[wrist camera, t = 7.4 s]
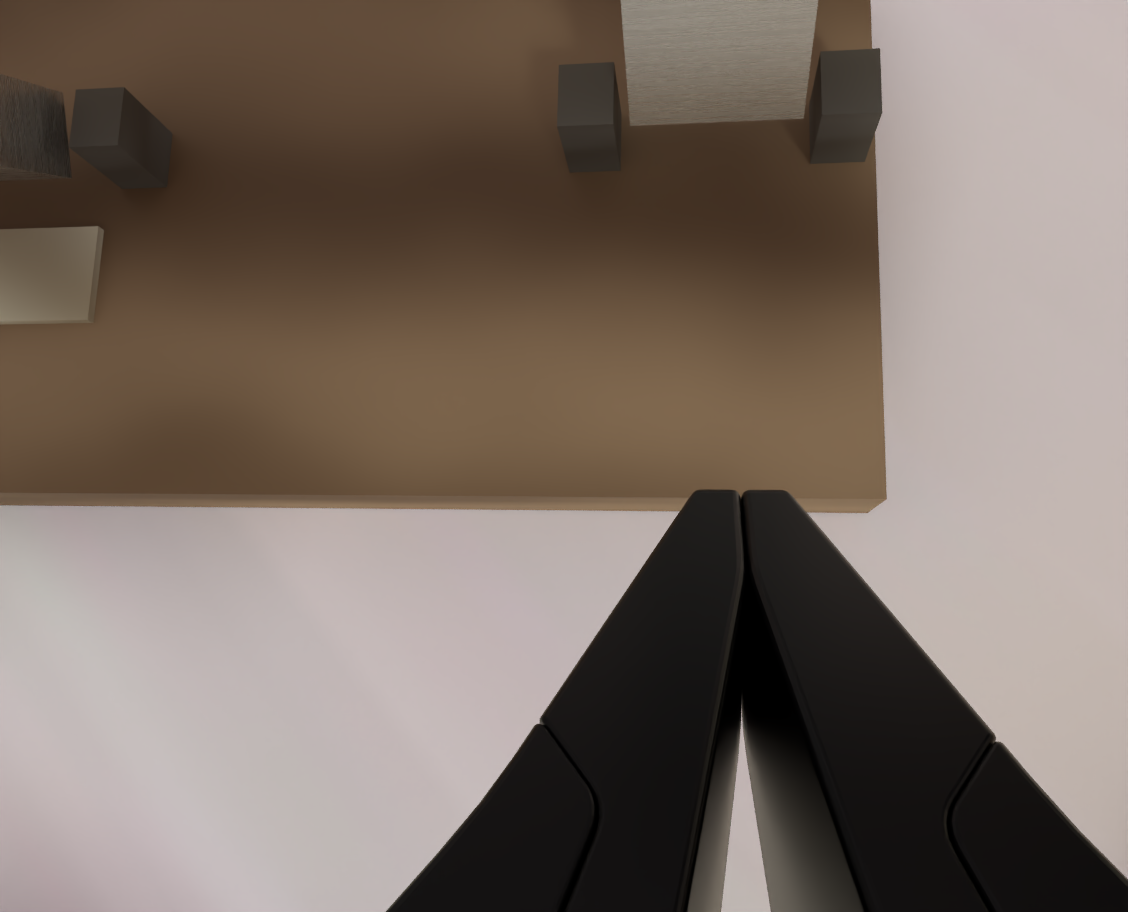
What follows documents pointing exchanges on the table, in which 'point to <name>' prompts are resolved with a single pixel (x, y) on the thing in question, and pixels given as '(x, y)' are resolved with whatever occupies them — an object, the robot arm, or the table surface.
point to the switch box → (430, 266)
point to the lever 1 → (32, 132)
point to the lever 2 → (717, 59)
